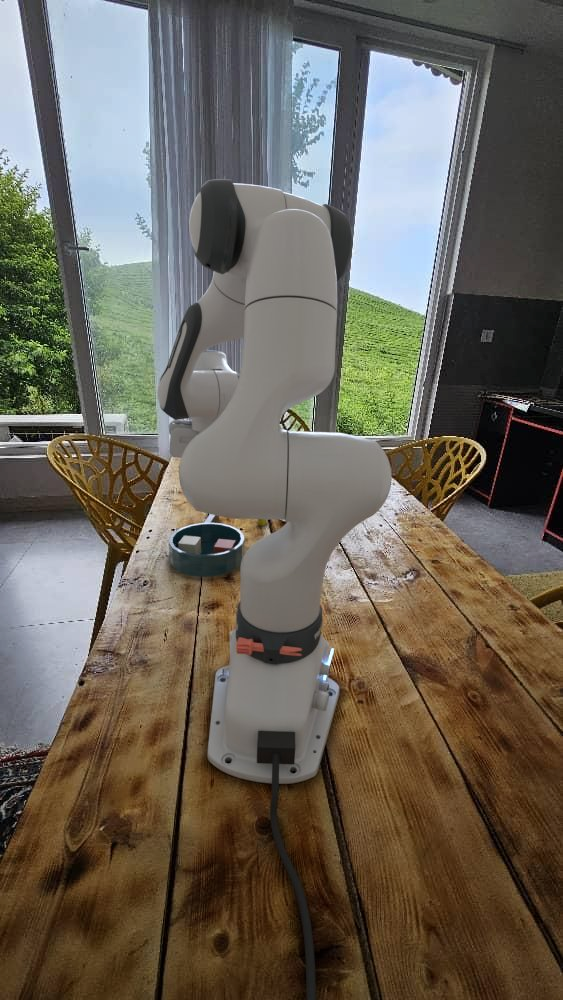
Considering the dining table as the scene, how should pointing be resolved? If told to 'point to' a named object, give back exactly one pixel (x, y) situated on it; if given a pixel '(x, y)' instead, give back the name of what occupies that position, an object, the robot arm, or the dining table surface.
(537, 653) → the dining table surface
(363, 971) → the dining table surface
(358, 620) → the dining table surface
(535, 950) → the dining table surface
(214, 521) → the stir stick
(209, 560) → the bowl
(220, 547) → the terracotta block
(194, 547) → the cream block
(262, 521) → the fruit
